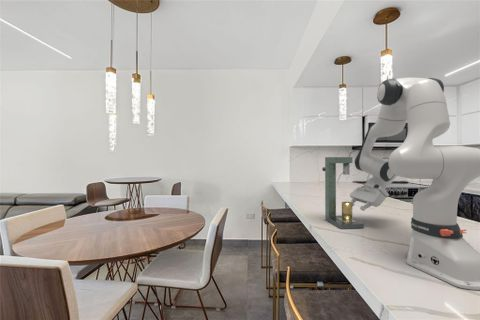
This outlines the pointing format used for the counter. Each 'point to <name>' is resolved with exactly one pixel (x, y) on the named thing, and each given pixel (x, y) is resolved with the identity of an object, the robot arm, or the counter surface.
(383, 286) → the counter surface
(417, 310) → the counter surface
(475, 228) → the counter surface
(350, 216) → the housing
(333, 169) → the press
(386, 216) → the counter surface
